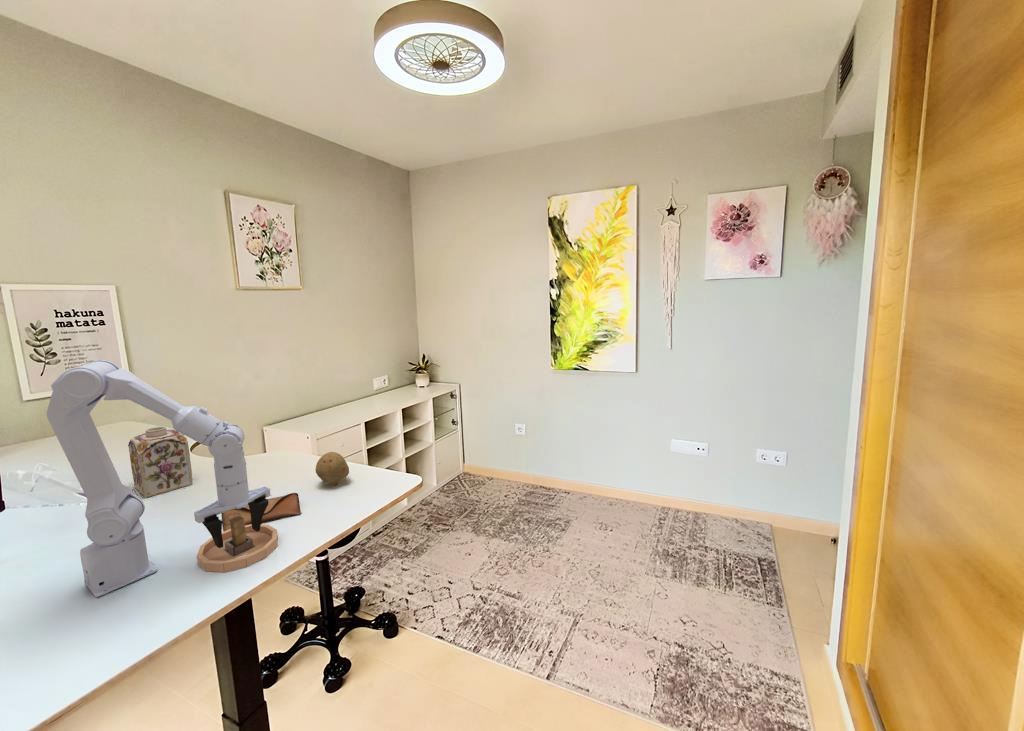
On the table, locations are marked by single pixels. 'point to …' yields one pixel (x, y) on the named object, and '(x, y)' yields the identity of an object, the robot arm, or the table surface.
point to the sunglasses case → (274, 510)
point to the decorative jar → (160, 461)
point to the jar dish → (223, 562)
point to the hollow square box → (238, 547)
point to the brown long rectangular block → (238, 530)
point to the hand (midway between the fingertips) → (238, 537)
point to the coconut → (332, 468)
